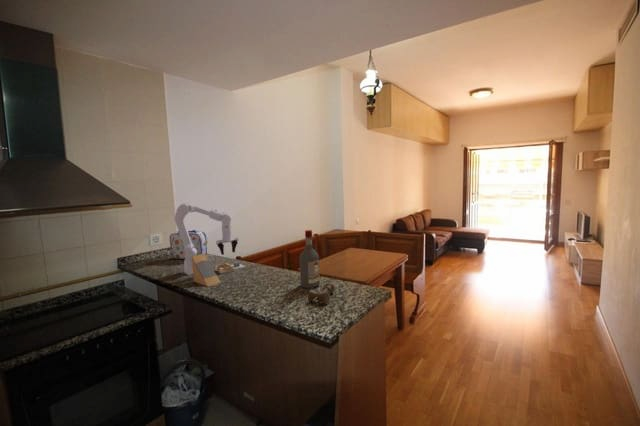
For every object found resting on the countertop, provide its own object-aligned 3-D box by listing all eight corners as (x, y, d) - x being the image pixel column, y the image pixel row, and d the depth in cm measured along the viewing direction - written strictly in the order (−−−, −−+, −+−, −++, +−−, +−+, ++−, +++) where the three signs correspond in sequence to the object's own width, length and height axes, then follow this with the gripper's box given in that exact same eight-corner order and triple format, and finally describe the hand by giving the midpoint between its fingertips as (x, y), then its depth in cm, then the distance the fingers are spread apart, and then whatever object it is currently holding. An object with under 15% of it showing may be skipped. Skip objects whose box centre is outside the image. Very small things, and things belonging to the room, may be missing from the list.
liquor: (298, 286, 167) (296, 231, 163) (308, 281, 174) (307, 228, 170) (311, 289, 161) (309, 232, 158) (321, 284, 168) (320, 230, 165)
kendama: (339, 294, 155) (322, 309, 137) (322, 292, 159) (303, 306, 141) (339, 283, 154) (322, 296, 136) (321, 281, 158) (302, 293, 141)
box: (215, 270, 199) (215, 265, 199) (227, 267, 204) (226, 263, 204) (222, 273, 192) (221, 268, 191) (234, 271, 197) (233, 266, 197)
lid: (227, 267, 208) (227, 262, 208) (239, 264, 213) (238, 260, 213) (234, 270, 201) (234, 265, 200) (245, 267, 206) (245, 262, 205)
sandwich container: (207, 287, 169) (205, 260, 168) (193, 281, 179) (191, 256, 177) (221, 282, 176) (219, 257, 174) (206, 277, 186) (205, 253, 184)
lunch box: (211, 257, 234) (209, 228, 232) (203, 260, 224) (201, 230, 222) (178, 256, 239) (175, 228, 236) (169, 260, 229) (167, 230, 226)
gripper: (218, 235, 192) (220, 256, 193) (240, 231, 201) (241, 252, 203) (214, 233, 197) (215, 254, 198) (235, 230, 206) (236, 250, 208)
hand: (228, 253), depth 201 cm, fingers open, 7 cm apart
